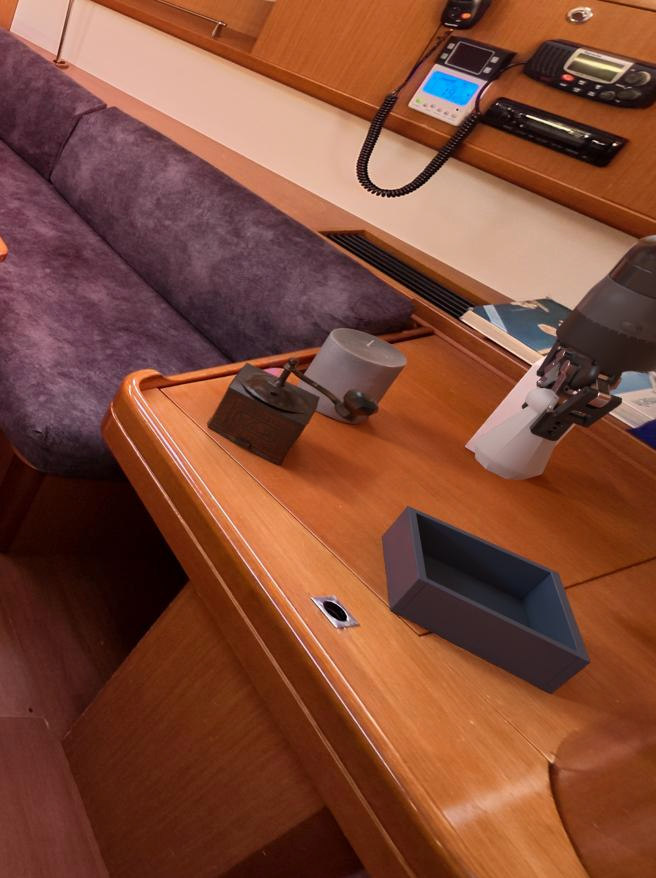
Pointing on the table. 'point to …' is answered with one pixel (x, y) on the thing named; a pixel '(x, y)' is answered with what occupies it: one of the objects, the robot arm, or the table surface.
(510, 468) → the salt shaker
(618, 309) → the robot arm
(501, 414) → the milk
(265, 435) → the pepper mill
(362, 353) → the pillar candle
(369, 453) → the table surface
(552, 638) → the bin
